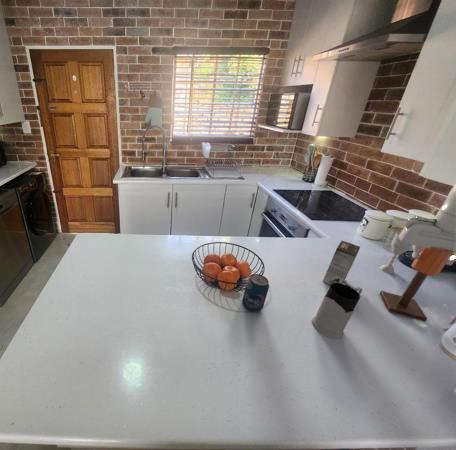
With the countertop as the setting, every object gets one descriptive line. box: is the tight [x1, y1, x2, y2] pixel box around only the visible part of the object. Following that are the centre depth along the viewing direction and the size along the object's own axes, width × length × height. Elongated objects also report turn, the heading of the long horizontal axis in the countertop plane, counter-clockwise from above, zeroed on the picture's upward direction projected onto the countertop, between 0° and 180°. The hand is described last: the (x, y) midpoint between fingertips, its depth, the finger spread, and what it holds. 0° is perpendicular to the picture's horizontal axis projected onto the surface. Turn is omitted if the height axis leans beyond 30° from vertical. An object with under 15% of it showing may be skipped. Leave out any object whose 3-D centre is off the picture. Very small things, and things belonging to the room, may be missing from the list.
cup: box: [410, 247, 454, 277], centre depth 80 cm, size 6×6×9 cm
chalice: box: [379, 229, 413, 275], centre depth 105 cm, size 7×7×18 cm
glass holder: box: [311, 283, 363, 339], centre depth 78 cm, size 9×14×15 cm, turn 113°
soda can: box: [241, 273, 270, 314], centre depth 84 cm, size 7×7×12 cm
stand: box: [379, 270, 429, 322], centre depth 86 cm, size 10×10×16 cm
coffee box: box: [322, 240, 361, 286], centre depth 98 cm, size 9×6×16 cm
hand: (430, 260), depth 80 cm, fingers closed on cup, 6 cm apart
